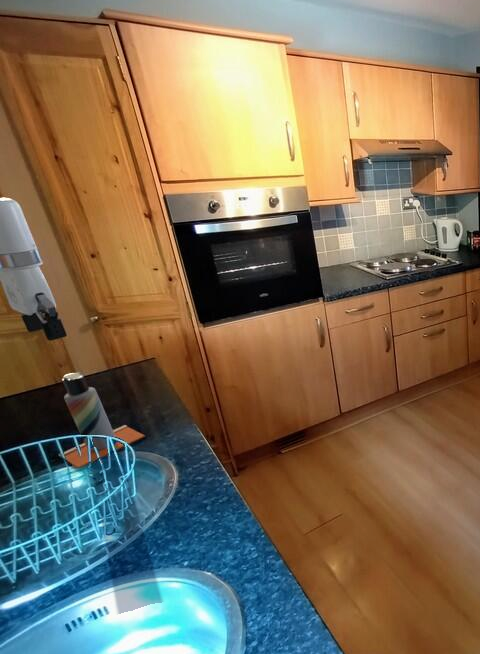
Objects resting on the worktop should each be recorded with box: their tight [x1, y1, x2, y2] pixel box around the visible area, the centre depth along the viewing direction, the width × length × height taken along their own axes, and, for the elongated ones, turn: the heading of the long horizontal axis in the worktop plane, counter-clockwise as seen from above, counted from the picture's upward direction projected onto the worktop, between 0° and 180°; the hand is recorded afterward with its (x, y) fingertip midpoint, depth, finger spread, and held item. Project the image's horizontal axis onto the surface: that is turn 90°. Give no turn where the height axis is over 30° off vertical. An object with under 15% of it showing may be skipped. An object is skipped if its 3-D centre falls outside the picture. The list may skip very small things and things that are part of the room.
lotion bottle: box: [61, 371, 115, 451], centre depth 110 cm, size 6×6×20 cm
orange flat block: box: [58, 424, 146, 469], centre depth 114 cm, size 14×10×1 cm
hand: (47, 334), depth 102 cm, fingers open, 9 cm apart
